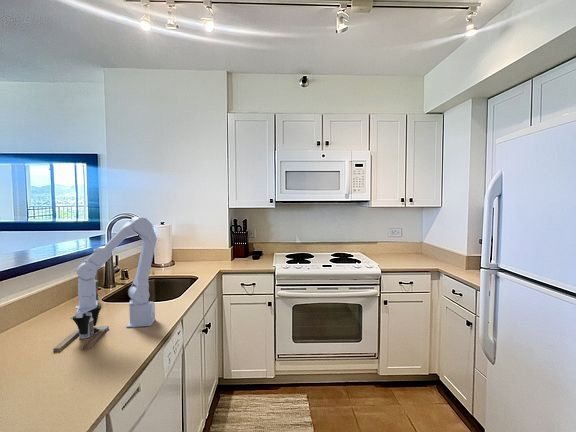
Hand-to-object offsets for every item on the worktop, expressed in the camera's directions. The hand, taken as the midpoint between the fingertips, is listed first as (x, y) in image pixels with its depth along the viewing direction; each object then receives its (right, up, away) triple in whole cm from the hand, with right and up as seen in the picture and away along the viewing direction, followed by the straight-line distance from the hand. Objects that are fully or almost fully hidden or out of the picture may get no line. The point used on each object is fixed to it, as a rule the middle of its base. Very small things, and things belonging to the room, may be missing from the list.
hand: (88, 329), depth 124 cm
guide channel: (+1, -2, -6) cm, 6 cm away
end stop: (-1, -2, +3) cm, 3 cm away
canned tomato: (-23, 0, +37) cm, 44 cm away
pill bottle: (0, -2, -1) cm, 2 cm away
